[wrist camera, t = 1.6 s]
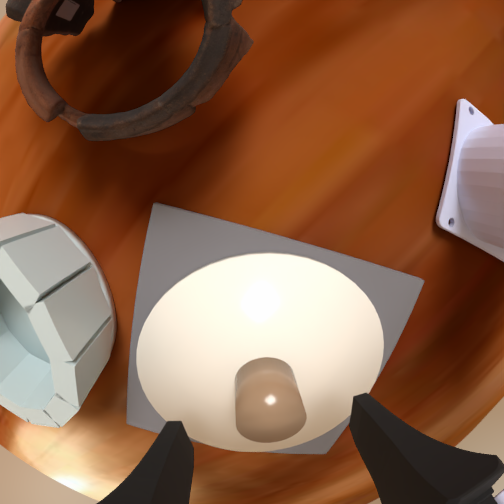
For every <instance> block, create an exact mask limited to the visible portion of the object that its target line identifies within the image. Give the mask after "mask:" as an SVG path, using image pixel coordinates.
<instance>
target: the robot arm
mask: <svg viewBox="0 0 504 504" xmlns="http://www.w3.org/2000/svg"><path fill="white" fill-rule="evenodd" d="M469 111H470V112H469ZM449 219H450V224H448V222H449ZM436 223H437V225H438V226H439V227H440V228H442V229H444V230H446V231H448V232H450V233H452V234H454V235H456V236H458V237H460V238H462V239H463V240H465V241H467V242H469V243H471V244H473V245H475V246H477V247H478V248H480V249H482V250H484V251H485V252H487V253H489V254H491V255H492V256H494V257H496V258H498V259H499V260H501V261H503V262H504V124H498V125H494V124H493V123H492V122H491V121H490V120H489V119H488V118H486V117H485V116H484V115H483V114H482V113H481V112H480V111H479V110H477V109H476V108H475V107H474V106H473V105H472V104H470V103H469V102H468V101H467V100H465V99H460V100H458V102H457V109H456V119H455V127H454V134H453V141H452V147H451V153H450V159H449V164H448V169H447V174H446V179H445V183H444V187H443V192H442V196H441V200H440V204H439V208H438V211H437V215H436ZM349 427H350V430H351V433H352V436H353V439H354V442H355V445H356V447H357V449H358V451H359V453H360V455H361V457H362V459H363V461H364V463H365V465H366V467H367V469H368V471H369V473H370V475H371V477H372V479H373V481H374V483H375V486H376V488H377V491H378V494H379V497H380V500H381V503H382V504H504V489H503V490H502V491H501V492H500V493H499V494H498V495H496V496H495V497H493V496H492V495H491V494H492V493H493V492H494V490H493V489H492V485H493V484H494V483H495V482H496V481H497V480H498V479H499V478H500V477H501V476H502V474H503V473H504V464H503V463H502V461H501V460H500V459H499V458H498V457H497V455H489V454H481V453H475V452H470V451H466V450H462V449H459V448H456V447H453V446H450V445H447V444H444V443H442V442H439V441H437V440H435V439H433V438H430V437H428V436H426V435H425V434H423V433H421V432H419V431H418V430H416V429H414V428H413V427H411V426H409V425H408V424H406V423H405V422H404V421H402V420H401V419H399V418H398V417H397V416H395V415H394V414H392V413H391V412H390V411H389V410H387V409H386V408H385V407H384V406H382V405H381V404H380V403H379V402H377V401H376V400H375V399H374V398H373V397H372V396H370V395H369V394H368V393H363V394H359V395H356V396H353V402H352V409H351V416H350V423H349ZM193 468H194V448H193V446H192V443H191V441H190V439H189V437H188V435H187V432H186V430H185V428H184V426H183V423H182V421H167V422H166V424H165V425H164V427H163V429H162V430H161V432H160V434H159V435H158V437H157V438H156V440H155V441H154V443H153V445H152V446H151V447H150V449H149V450H148V452H147V453H146V455H145V456H144V457H143V459H142V460H141V461H140V463H139V464H138V465H137V466H136V468H135V469H134V470H133V471H132V472H131V474H130V475H129V476H128V477H127V478H126V479H125V480H124V481H123V482H122V483H121V484H120V485H119V486H118V487H117V488H116V489H115V490H114V491H112V492H111V493H110V494H109V495H108V496H106V497H105V498H104V499H103V500H101V501H100V502H98V503H97V504H189V498H190V491H191V484H192V476H193Z"/></svg>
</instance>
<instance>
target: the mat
mask: <svg viewBox="0 0 504 504" xmlns="http://www.w3.org/2000/svg"><path fill="white" fill-rule="evenodd" d="M254 252H282V253H291V254H296V255H301V256H306V257H309V258H312V259H315V260H317V261H320V262H323V263H325V264H327V265H329V266H331V267H333V268H335V269H336V270H338V271H340V272H341V273H342V274H344V275H345V276H346V277H348V278H349V279H350V280H352V281H353V282H354V283H355V284H356V285H357V286H358V287H359V288H360V289H361V290H362V291H363V292H364V293H365V294H366V295H367V297H368V298H369V300H370V301H371V303H372V304H373V306H374V308H375V310H376V312H377V314H378V316H379V319H380V322H381V326H382V330H383V339H384V350H383V359H382V363H381V367H380V371H379V373H378V376H379V375H380V373H381V371H382V369H383V368H384V366H385V364H386V362H387V360H388V359H389V357H390V355H391V353H392V351H393V349H394V347H395V345H396V343H397V341H398V339H399V337H400V335H401V333H402V331H403V329H404V327H405V325H406V323H407V321H408V318H409V316H410V314H411V312H412V310H413V307H414V305H415V303H416V300H417V298H418V296H419V293H420V291H421V288H422V286H423V283H424V280H422V279H421V278H418V277H415V276H412V275H409V274H406V273H403V272H400V271H396V270H393V269H390V268H387V267H384V266H380V265H377V264H374V263H371V262H367V261H364V260H361V259H358V258H354V257H351V256H348V255H344V254H341V253H338V252H334V251H331V250H328V249H324V248H321V247H317V246H314V245H311V244H307V243H304V242H300V241H297V240H293V239H290V238H286V237H283V236H279V235H276V234H272V233H269V232H265V231H262V230H258V229H255V228H251V227H247V226H244V225H240V224H236V223H233V222H229V221H225V220H222V219H218V218H214V217H211V216H207V215H203V214H199V213H196V212H192V211H188V210H184V209H180V208H177V207H173V206H169V205H165V204H161V203H157V202H156V203H153V208H152V212H151V216H150V221H149V226H148V230H147V235H146V240H145V245H144V251H143V256H142V262H141V268H140V274H139V280H138V286H137V293H136V300H135V308H134V316H133V324H132V334H131V344H130V356H129V370H128V388H127V424H129V425H132V426H135V427H139V428H142V429H145V430H149V431H152V432H156V433H159V434H160V432H161V430H162V429H163V427H164V425H165V424H166V422H167V421H166V420H164V419H163V418H162V417H161V415H160V414H159V413H158V412H157V411H156V410H155V409H154V407H153V406H152V404H151V403H150V402H149V400H148V398H147V397H146V395H145V393H144V391H143V389H142V386H141V383H140V380H139V377H138V371H137V364H136V355H137V345H138V340H139V336H140V333H141V331H142V328H143V325H144V323H145V321H146V319H147V318H148V316H149V314H150V313H151V311H152V309H153V308H154V306H155V304H156V303H157V302H158V301H159V299H160V298H161V297H162V296H163V295H164V293H165V292H166V291H167V290H169V289H170V288H171V287H172V286H173V285H174V284H175V283H176V282H178V281H179V280H180V279H182V278H183V277H185V276H186V275H188V274H189V273H191V272H192V271H194V270H196V269H198V268H200V267H203V266H205V265H207V264H209V263H211V262H214V261H217V260H220V259H223V258H226V257H229V256H235V255H240V254H245V253H254ZM378 376H377V378H378ZM377 378H376V380H377ZM375 382H376V381H375ZM372 387H373V386H372ZM350 416H351V415H350ZM350 416H348V417H347V418H346V419H345V420H344V421H343V422H341V423H340V424H339V425H337V426H336V427H334V428H333V429H331V430H330V431H328V432H326V433H325V434H323V435H321V436H319V437H317V438H315V439H312V440H310V441H308V442H305V443H302V444H299V445H296V446H293V447H289V448H285V449H279V450H274V451H264V452H272V453H289V454H326V453H327V452H328V450H329V449H330V448H331V447H332V445H333V444H334V443H335V441H336V440H337V439H338V437H339V436H340V435H341V433H342V432H343V430H344V429H345V428H346V426H347V425H348V423H349V422H350ZM188 437H189V436H188ZM189 439H190V441H193V442H198V443H202V442H199V441H197V440H194V439H192V438H190V437H189ZM203 444H204V443H203Z"/></svg>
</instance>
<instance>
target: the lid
mask: <svg viewBox="0 0 504 504" xmlns="http://www.w3.org/2000/svg"><path fill="white" fill-rule="evenodd" d="M383 350H384V339H383V330H382V326H381V322H380V319H379V316H378V314H377V312H376V310H375V308H374V306H373V304H372V303H371V301H370V300H369V298H368V297H367V295H366V294H365V293H364V292H363V291H362V290H361V289H360V288H359V287H358V286H357V285H356V284H355V283H354V282H353V281H352V280H350V279H349V278H348V277H346V276H345V275H344V274H342V273H341V272H340V271H338V270H336V269H335V268H333V267H331V266H329V265H327V264H325V263H323V262H320V261H317V260H315V259H312V258H309V257H306V256H301V255H296V254H291V253H282V252H254V253H245V254H240V255H235V256H229V257H226V258H223V259H220V260H217V261H214V262H211V263H209V264H207V265H205V266H203V267H200V268H198V269H196V270H194V271H192V272H191V273H189V274H188V275H186V276H185V277H183V278H182V279H180V280H179V281H178V282H176V283H175V284H174V285H173V286H172V287H171V288H170V289H169V290H167V291H166V292H165V293H164V295H163V296H162V297H161V298H160V299H159V301H158V302H157V303H156V304H155V306H154V308H153V309H152V311H151V313H150V314H149V316H148V318H147V319H146V321H145V323H144V325H143V328H142V331H141V333H140V336H139V340H138V345H137V355H136V364H137V371H138V377H139V380H140V383H141V386H142V389H143V391H144V393H145V395H146V397H147V398H148V400H149V402H150V403H151V404H152V406H153V407H154V409H155V410H156V411H157V412H158V413H159V414H160V415H161V417H162V418H163V419H164V420H166V421H182V423H183V426H184V428H185V430H186V432H187V435H188V436H189V437H190V438H192V439H194V440H197V441H199V442H202V443H204V444H207V445H210V446H213V447H217V448H221V449H226V450H232V451H242V452H264V451H274V450H279V449H285V448H289V447H293V446H296V445H299V444H302V443H305V442H308V441H310V440H312V439H315V438H317V437H319V436H321V435H323V434H325V433H326V432H328V431H330V430H331V429H333V428H334V427H336V426H337V425H339V424H340V423H341V422H343V421H344V420H345V419H346V418H347V417H348V416H350V415H351V409H352V402H353V396H356V395H359V394H363V393H369V392H370V390H371V388H372V386H373V385H374V383H375V381H376V378H377V376H378V373H379V371H380V367H381V363H382V359H383Z"/></svg>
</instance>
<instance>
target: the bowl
mask: <svg viewBox="0 0 504 504" xmlns="http://www.w3.org/2000/svg"><path fill="white" fill-rule="evenodd" d="M116 321H117V320H116V311H115V305H114V301H113V296H112V293H111V290H110V287H109V284H108V282H107V280H106V277H105V275H104V273H103V271H102V269H101V267H100V265H99V263H98V261H97V260H96V258H95V257H94V255H93V254H92V252H91V251H90V249H89V248H88V247H87V246H86V244H85V243H84V242H83V241H82V240H81V239H80V238H79V237H78V236H77V235H76V234H75V233H74V232H73V231H72V230H71V229H70V228H68V227H67V226H66V225H64V224H63V223H61V222H59V221H58V220H56V219H54V218H51V217H49V216H45V215H41V214H24V213H21V214H15V215H11V216H7V217H3V218H0V405H2V406H3V407H5V408H6V409H8V410H9V411H11V412H12V413H14V414H15V415H17V416H19V417H20V418H22V419H23V420H25V421H27V422H29V421H30V422H31V424H36V425H42V426H49V427H57V428H59V427H60V426H61V427H63V426H64V425H65V424H66V423H67V422H68V421H69V420H70V419H71V418H72V417H73V416H74V415H75V414H76V413H77V412H78V411H79V409H80V407H81V406H82V404H83V402H84V400H85V399H86V397H87V395H88V393H89V392H90V390H91V388H92V387H93V385H94V383H95V382H96V380H97V378H98V377H99V375H100V373H101V372H102V370H103V369H104V367H105V365H106V364H107V362H108V360H109V358H110V353H111V351H112V349H113V345H114V342H115V337H116Z"/></svg>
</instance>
